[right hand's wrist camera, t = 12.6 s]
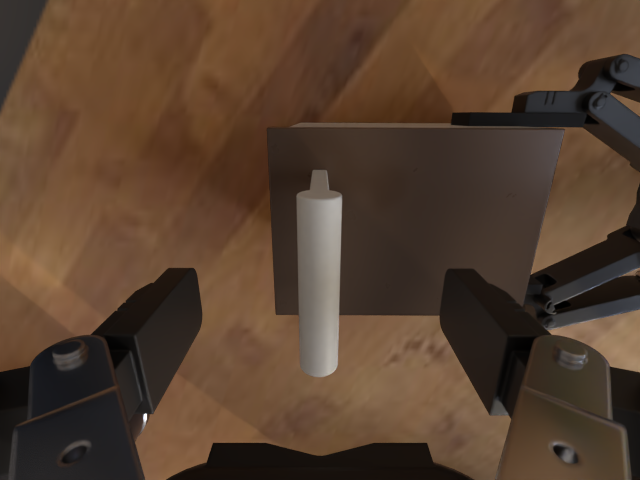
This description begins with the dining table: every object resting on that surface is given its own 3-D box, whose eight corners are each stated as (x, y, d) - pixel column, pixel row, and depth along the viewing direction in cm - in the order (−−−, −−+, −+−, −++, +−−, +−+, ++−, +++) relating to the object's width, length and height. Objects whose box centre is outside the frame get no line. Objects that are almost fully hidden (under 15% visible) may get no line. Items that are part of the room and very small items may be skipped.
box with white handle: (277, 304, 20) (253, 415, 13) (269, 126, 17) (229, 135, 9) (510, 305, 20) (621, 416, 13) (549, 127, 17) (733, 137, 9)
